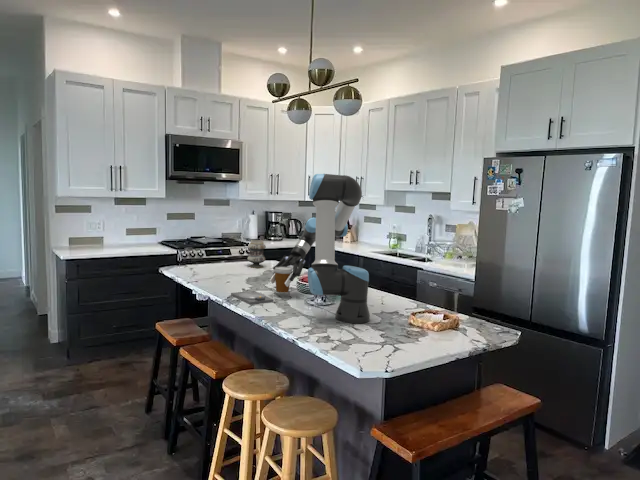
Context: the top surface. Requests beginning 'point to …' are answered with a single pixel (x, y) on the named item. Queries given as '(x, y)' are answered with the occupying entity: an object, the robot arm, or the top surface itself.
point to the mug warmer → (252, 297)
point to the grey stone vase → (256, 253)
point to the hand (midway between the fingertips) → (278, 283)
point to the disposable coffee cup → (282, 278)
